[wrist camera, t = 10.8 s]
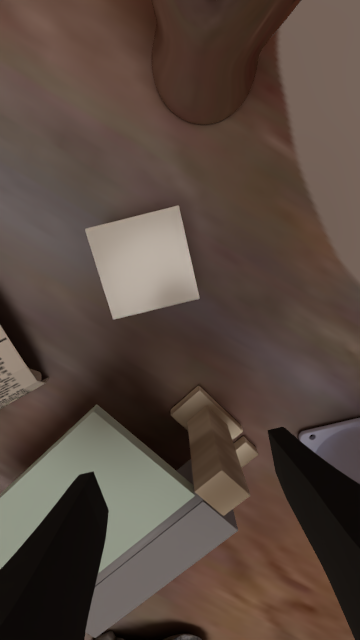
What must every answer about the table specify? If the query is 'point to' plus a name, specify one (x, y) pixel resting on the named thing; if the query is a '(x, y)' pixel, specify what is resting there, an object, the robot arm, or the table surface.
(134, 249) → the off-white cube
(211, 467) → the frame
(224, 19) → the beer glass
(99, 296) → the table surface
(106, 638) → the grey rock
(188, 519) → the trapdoor
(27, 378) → the newspaper
